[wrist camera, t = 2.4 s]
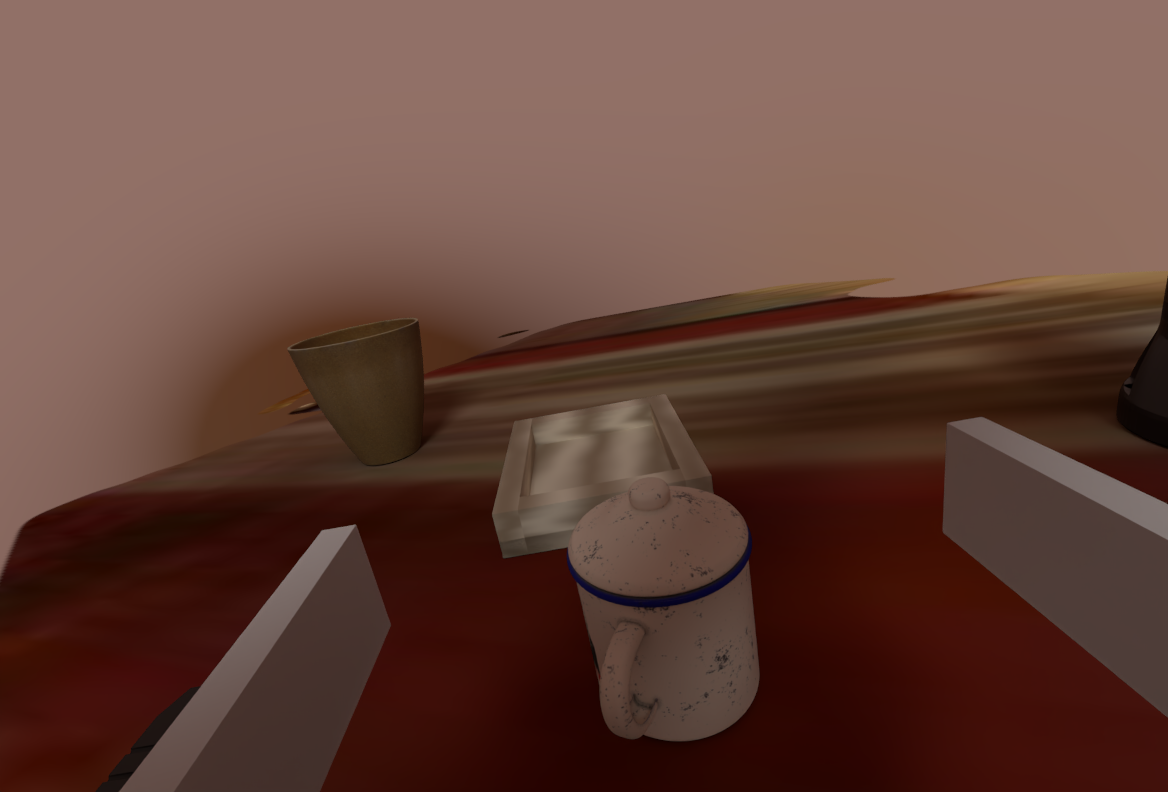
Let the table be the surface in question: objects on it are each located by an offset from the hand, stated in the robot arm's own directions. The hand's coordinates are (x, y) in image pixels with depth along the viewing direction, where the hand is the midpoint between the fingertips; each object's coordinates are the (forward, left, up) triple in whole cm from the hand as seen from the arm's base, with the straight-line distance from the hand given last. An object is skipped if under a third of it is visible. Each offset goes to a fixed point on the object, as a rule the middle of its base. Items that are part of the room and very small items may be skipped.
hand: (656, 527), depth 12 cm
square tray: (+2, -37, -17) cm, 41 cm away
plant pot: (+28, -55, -18) cm, 64 cm away
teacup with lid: (0, -12, -18) cm, 21 cm away
